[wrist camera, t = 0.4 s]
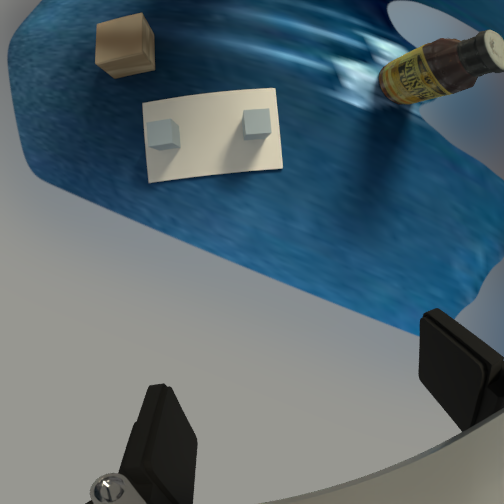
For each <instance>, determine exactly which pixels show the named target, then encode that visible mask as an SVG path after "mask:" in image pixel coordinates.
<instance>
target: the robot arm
mask: <svg viewBox="0 0 504 504" xmlns="http://www.w3.org/2000/svg"><path fill="white" fill-rule="evenodd" d="M503 359H504V357H503V356H501V355H500V354H499V353H497V352H496V351H495V350H494V349H492V348H491V347H490V346H488V345H487V344H486V343H485V342H483V341H482V340H481V339H479V338H478V337H477V336H475V335H474V334H473V333H471V332H470V331H469V330H467V329H466V328H465V327H463V326H462V325H461V324H459V323H458V322H457V321H455V320H454V319H452V318H451V317H450V316H448V315H447V314H446V313H444V312H443V311H441V310H440V309H438V308H436V309H433V310H431V311H428V312H426V313H424V314H423V318H421V319H420V349H419V379H420V381H421V382H422V383H423V385H424V386H425V387H426V388H427V389H428V391H429V392H430V393H431V394H432V395H433V397H434V398H435V399H436V400H437V401H438V403H439V404H440V405H441V406H442V407H443V409H444V410H445V411H446V412H447V413H448V415H449V416H450V417H451V418H452V420H453V421H454V422H455V423H456V424H457V426H458V427H459V428H460V429H461V431H462V433H460V434H458V435H456V436H454V437H452V438H451V439H449V440H447V441H445V442H443V443H441V444H439V445H437V446H435V447H433V448H431V449H429V450H427V451H425V452H423V453H420V454H418V455H417V456H414V457H412V458H409V459H407V460H405V461H403V462H400V463H398V464H395V465H393V466H390V467H388V468H385V469H383V470H380V471H378V472H375V473H372V474H369V475H367V476H364V477H361V478H358V479H355V480H352V481H349V482H346V483H343V484H339V485H336V486H333V487H329V488H326V489H322V490H318V491H315V492H311V493H307V494H303V495H299V496H295V497H290V498H286V499H281V500H276V501H270V502H265V503H259V504H504V361H503ZM196 456H197V438H196V435H195V433H194V431H193V429H192V427H191V426H190V424H189V422H188V420H187V418H186V416H185V414H184V412H183V410H182V408H181V406H180V404H179V402H178V400H177V398H176V396H175V394H174V391H173V390H172V388H171V387H167V386H166V385H165V384H157V385H150V386H149V387H148V389H147V392H146V395H145V398H144V401H143V405H142V407H141V410H140V413H139V416H138V419H137V422H135V423H134V425H133V428H132V431H131V434H130V437H129V441H128V443H127V446H126V450H125V453H124V456H123V459H122V462H121V466H120V469H119V473H110V474H105V475H103V476H101V477H99V478H98V479H96V481H95V482H94V483H93V484H92V486H91V489H90V497H91V499H92V500H91V501H89V502H87V503H86V504H193V493H194V481H195V468H196Z"/></svg>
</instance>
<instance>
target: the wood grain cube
mask: <svg viewBox="0 0 504 504" xmlns="http://www.w3.org/2000/svg"><path fill="white" fill-rule="evenodd" d="M95 64H96V65H98V66H99V67H100V68H102V69H103V70H104V71H105V72H107V73H108V74H109V75H110V76H112V77H113V78H114V79H116V78H120V77H125V76H129V75H134V74H139V73H143V72H148V71H154V70H155V45H154V33H153V31H152V29H151V28H150V26H149V24H148V22H147V20H146V19H145V17H144V15H143V13H138V14H133V15H129V16H125V17H121V18H117V19H114V20H110V21H107V22H103V23H100V24H97V34H96V55H95Z"/></svg>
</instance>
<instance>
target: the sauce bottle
mask: <svg viewBox="0 0 504 504" xmlns="http://www.w3.org/2000/svg"><path fill="white" fill-rule="evenodd" d="M491 72H495V73H501V72H504V40H503V39H502V37H501V36H500V35H499V34H498V33H496V32H494V31H492V30H486V31H482V32H479V33H478V34H477V35H476V37H473V38H470V39H468V40H462V41H459V40H457V39H444V38H440V39H438V40H436V41H434V42H432V43H428V44H425V45H423V46H421V47H419V48H417V49H415V50H413V51H411V52H409V53H407V54H405V55H403V56H401V57H399V58H397V59H395V60H393V61H391V62H390V63H388V64H387V65H386V66H384V67H383V68H382V70H381V72H380V74H379V83H380V87H381V89H382V92H383V93H384V95H385V96H386V97H387V98H389V99H390V100H391V101H393V102H395V103H397V104H413V103H417V102H420V101H424V100H428V99H433V98H437V97H441V96H445V95H450V94H454V93H457V92H459V91H462V90H465V89H468V88H470V87H473V86H474V84H475V82H476V80H477V78H478V76H482V75H484V74H487V73H491Z"/></svg>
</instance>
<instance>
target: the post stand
mask: <svg viewBox="0 0 504 504" xmlns="http://www.w3.org/2000/svg"><path fill="white" fill-rule="evenodd" d="M142 104H143V121H144V136H145V148H146V160H147V170H148V180H149V183H153V182H160V181H167V180H174V179H182V178H190V177H198V176H206V175H215V174H225V173H235V172H245V171H257V170H269V169H282V168H283V164H282V152H281V142H280V131H279V121H278V111H277V101H276V92H275V88H265V89H248V90H235V91H224V92H214V93H205V94H197V95H190V96H182V97H176V98H169V99H163V100H157V101H152V102H146V103H142Z"/></svg>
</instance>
